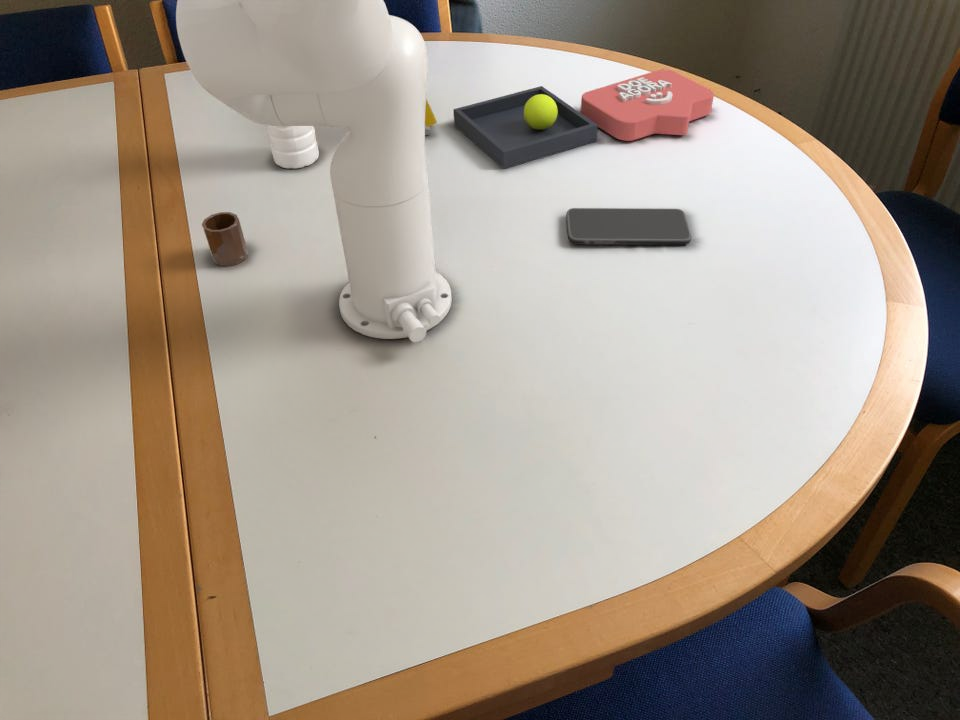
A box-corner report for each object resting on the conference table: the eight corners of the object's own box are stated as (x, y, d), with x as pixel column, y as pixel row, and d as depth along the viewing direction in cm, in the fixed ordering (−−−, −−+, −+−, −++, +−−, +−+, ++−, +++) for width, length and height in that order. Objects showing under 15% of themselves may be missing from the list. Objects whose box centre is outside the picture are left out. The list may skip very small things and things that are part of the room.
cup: (252, 259, 97) (242, 225, 94) (217, 270, 96) (207, 235, 92) (242, 242, 100) (233, 208, 96) (209, 252, 98) (198, 218, 95)
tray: (596, 141, 116) (597, 124, 114) (503, 169, 111) (503, 152, 109) (541, 101, 126) (541, 85, 125) (454, 125, 121) (453, 109, 120)
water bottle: (323, 147, 117) (291, -33, 100) (313, 170, 113) (277, -16, 96) (266, 147, 118) (224, -33, 101) (253, 169, 113) (207, -16, 96)
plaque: (639, 129, 110) (576, 91, 120) (636, 154, 113) (574, 115, 123) (734, 96, 117) (666, 63, 126) (729, 121, 119) (663, 86, 129)
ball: (538, 141, 119) (567, 123, 117) (524, 125, 115) (553, 106, 113) (528, 117, 121) (556, 98, 119) (513, 100, 117) (542, 81, 115)
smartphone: (693, 240, 95) (568, 239, 96) (692, 247, 96) (568, 246, 97) (683, 207, 101) (565, 207, 101) (682, 213, 101) (565, 213, 102)
